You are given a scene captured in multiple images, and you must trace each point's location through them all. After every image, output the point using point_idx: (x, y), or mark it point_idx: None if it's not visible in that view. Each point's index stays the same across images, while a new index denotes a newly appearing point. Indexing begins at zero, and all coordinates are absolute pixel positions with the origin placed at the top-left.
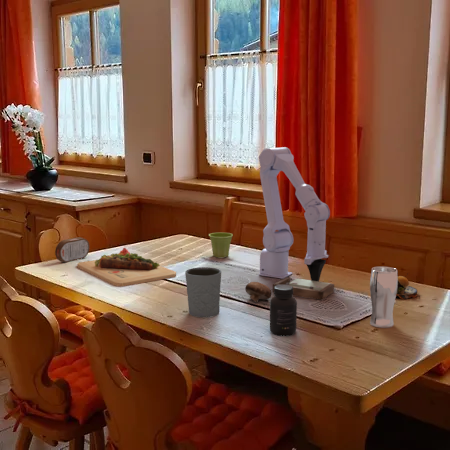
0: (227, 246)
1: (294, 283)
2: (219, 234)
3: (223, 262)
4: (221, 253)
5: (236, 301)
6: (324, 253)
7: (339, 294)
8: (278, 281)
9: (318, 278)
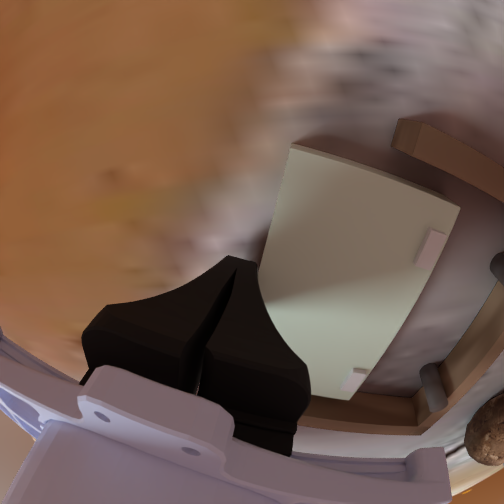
0: None
1: (359, 380)
2: None
3: None
4: None
5: None
6: (125, 478)
7: (447, 81)
8: (374, 433)
9: (250, 272)
